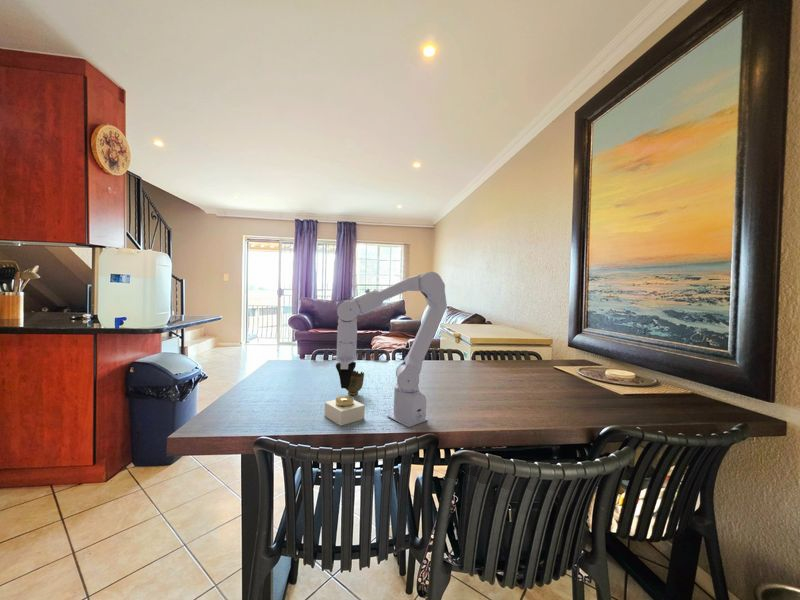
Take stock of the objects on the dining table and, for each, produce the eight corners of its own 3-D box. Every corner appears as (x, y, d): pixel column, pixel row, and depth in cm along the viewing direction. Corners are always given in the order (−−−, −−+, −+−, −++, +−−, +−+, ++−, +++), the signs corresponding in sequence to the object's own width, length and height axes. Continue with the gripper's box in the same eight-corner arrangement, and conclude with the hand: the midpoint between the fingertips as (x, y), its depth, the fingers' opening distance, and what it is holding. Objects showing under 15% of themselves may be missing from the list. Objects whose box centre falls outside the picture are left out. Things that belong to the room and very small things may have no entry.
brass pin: (356, 416, 92) (357, 399, 92) (341, 420, 89) (341, 403, 88) (346, 410, 96) (347, 394, 96) (331, 414, 92) (332, 397, 92)
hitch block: (364, 418, 92) (364, 405, 92) (340, 425, 86) (341, 411, 86) (347, 409, 98) (347, 396, 98) (324, 415, 93) (324, 402, 93)
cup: (367, 394, 113) (368, 372, 113) (354, 400, 107) (355, 377, 106) (351, 390, 117) (352, 369, 117) (338, 395, 110) (339, 373, 110)
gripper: (335, 337, 98) (334, 380, 99) (329, 345, 84) (328, 395, 84) (358, 338, 99) (356, 380, 100) (356, 346, 85) (354, 396, 85)
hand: (345, 387), depth 92 cm, fingers closed
